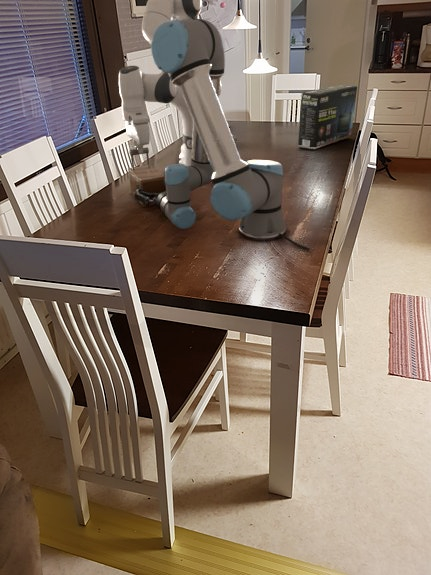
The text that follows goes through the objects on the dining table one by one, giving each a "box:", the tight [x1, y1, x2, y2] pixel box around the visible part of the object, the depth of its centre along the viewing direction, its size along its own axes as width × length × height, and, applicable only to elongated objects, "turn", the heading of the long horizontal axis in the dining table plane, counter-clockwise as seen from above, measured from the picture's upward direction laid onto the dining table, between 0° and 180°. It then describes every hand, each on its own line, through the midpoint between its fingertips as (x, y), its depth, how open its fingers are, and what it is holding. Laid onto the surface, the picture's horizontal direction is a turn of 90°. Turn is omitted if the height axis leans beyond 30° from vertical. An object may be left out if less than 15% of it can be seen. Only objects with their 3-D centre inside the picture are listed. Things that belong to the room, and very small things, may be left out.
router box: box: [297, 84, 358, 151], centre depth 238 cm, size 36×11×27 cm, turn 134°
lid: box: [127, 147, 165, 183], centre depth 175 cm, size 18×10×9 cm, turn 24°
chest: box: [128, 171, 166, 208], centre depth 179 cm, size 17×10×9 cm, turn 24°
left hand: (139, 151), depth 178 cm, fingers closed on lid, 2 cm apart
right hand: (150, 186), depth 175 cm, fingers closed on chest, 9 cm apart
